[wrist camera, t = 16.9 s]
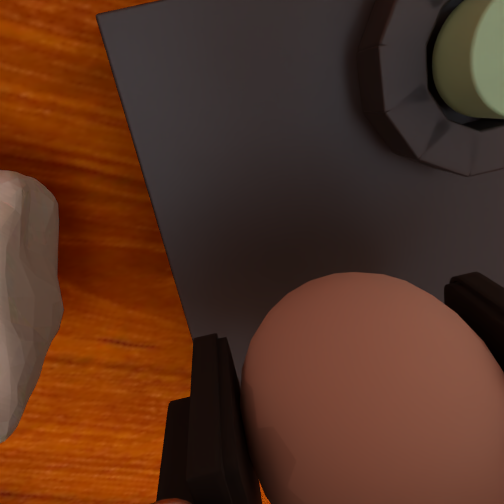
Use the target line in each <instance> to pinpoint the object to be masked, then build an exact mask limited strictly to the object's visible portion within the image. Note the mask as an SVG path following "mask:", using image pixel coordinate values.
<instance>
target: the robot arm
mask: <svg viewBox="0 0 504 504" xmlns="http://www.w3.org/2000/svg"><path fill="white" fill-rule="evenodd" d="M444 304H445V305H446V306H448V307H449V308H450V309H452V310H453V311H454V312H456V313H457V314H458V315H459V316H460V317H461V318H462V319H463V320H464V321H465V322H466V324H467V325H468V326H469V327H470V328H471V329H472V330H473V331H474V332H475V333H476V334H477V335H478V336H479V337H480V338H481V339H482V340H483V341H484V343H485V344H486V346H487V347H488V349H489V350H490V352H491V353H492V355H493V356H494V358H495V360H496V361H497V363H498V364H499V366H500V367H501V369H502V370H503V372H504V288H503V287H502V286H500V285H499V284H497V283H495V282H494V281H492V280H491V279H489V278H487V277H486V276H484V275H483V274H481V273H479V272H477V271H476V272H471V273H467V274H463V275H458V276H454V277H452V278H451V279H450V282H449V284H446V285H445V287H444ZM240 391H241V388H240V384H239V381H238V377H237V373H236V369H235V366H234V362H233V358H232V354H231V350H230V347H229V343H228V339H227V337H223V338H218V335H217V333H213V334H209V335H205V336H200V337H196V338H194V340H193V356H192V374H191V393H190V397H187V398H183V399H178V400H174V401H171V402H170V403H169V406H168V412H167V420H166V428H165V436H164V444H163V452H162V460H161V468H160V476H159V484H158V492H157V500H156V502H154V503H151V504H262V499H261V492H260V485H259V479H258V476H257V474H256V471H255V469H254V466H253V464H252V462H251V459H250V457H249V454H248V448H247V443H246V437H245V432H244V427H243V421H242V416H241V411H240Z"/></svg>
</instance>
